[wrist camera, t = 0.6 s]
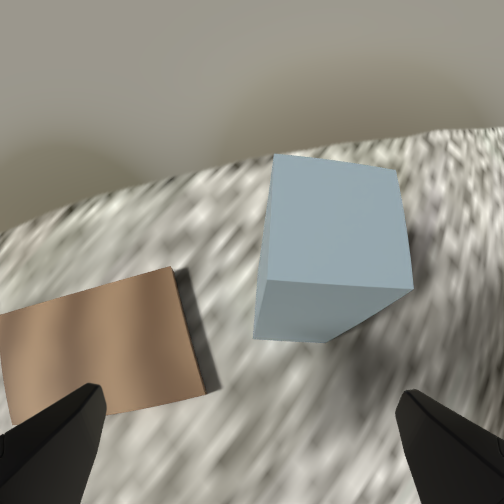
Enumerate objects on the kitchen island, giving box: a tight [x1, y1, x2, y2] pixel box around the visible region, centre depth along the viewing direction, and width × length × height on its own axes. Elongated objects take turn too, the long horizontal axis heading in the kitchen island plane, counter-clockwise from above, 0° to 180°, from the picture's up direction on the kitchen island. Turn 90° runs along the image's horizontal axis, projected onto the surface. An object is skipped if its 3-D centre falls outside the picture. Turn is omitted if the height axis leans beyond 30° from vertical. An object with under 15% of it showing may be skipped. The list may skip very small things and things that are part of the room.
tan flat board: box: [0, 266, 207, 425], centre depth 20 cm, size 16×9×1 cm, turn 108°
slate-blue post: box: [253, 154, 414, 343], centre depth 17 cm, size 5×5×12 cm
